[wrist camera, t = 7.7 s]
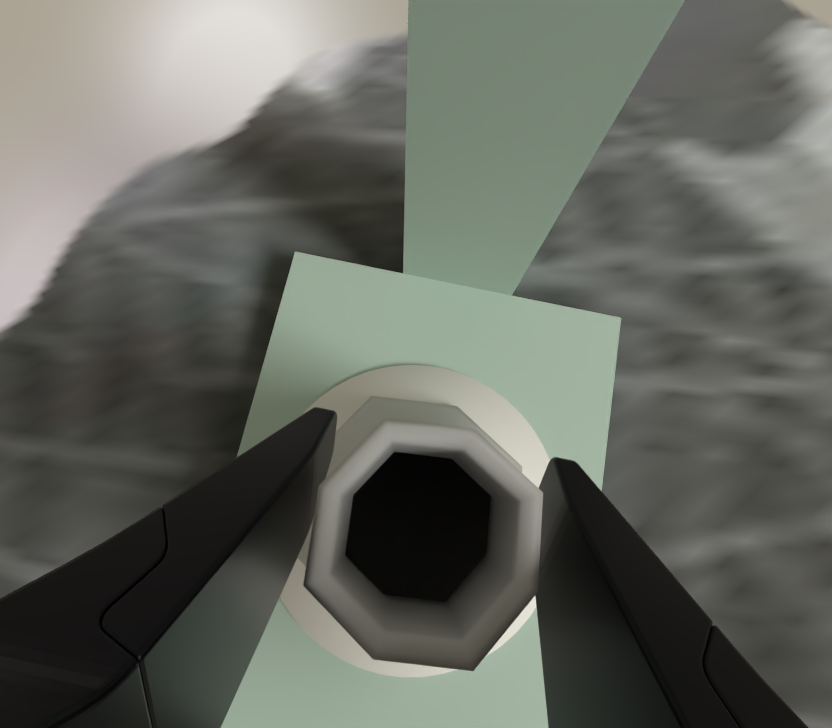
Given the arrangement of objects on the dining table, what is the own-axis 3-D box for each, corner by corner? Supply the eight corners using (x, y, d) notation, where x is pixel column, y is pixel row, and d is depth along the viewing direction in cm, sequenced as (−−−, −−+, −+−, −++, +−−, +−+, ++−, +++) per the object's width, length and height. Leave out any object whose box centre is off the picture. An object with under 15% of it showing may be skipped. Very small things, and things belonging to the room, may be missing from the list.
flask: (255, 567, 16) (28, 692, 6) (359, 362, 18) (310, 206, 8) (468, 674, 15) (586, 995, 6) (555, 453, 17) (763, 407, 7)
